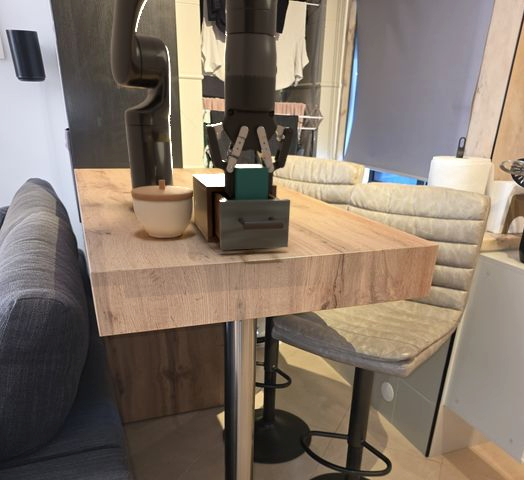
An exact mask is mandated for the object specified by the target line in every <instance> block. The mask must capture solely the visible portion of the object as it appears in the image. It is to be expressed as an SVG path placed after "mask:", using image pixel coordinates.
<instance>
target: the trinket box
mask: <svg viewBox="0 0 524 480" xmlns="http://www.w3.org/2000/svg"><path fill="white" fill-rule="evenodd" d="M130 193H131V198H132V207H133V206H134V208H133V211H134V215H135V217H136V220H137V222H138V224H139V226H140V227H141V228H142V229H143V230H144V231H145V232H147V233H148V236H150V237H152V238H156V239H157V238H158V239H171V238H177V237H180V236H182V235H183V232H184V231H186V229H187V228H188V227H189V226H190V223H191V221H192V217H193V212H194V197H193V188H192V189H191V188H189V187H186V186H177V185H173V186H165V180H159V186H145V187H138V188H135V189H132V188H131V190H130Z"/></svg>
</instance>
